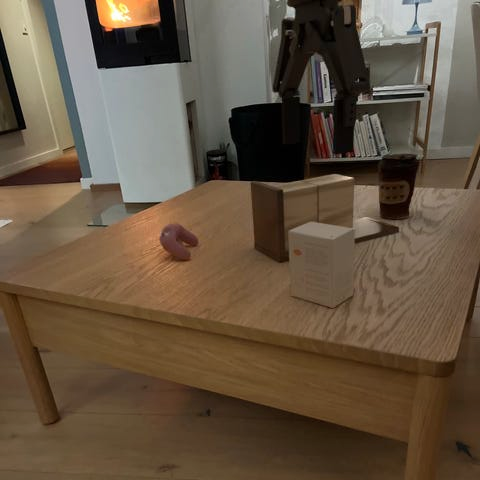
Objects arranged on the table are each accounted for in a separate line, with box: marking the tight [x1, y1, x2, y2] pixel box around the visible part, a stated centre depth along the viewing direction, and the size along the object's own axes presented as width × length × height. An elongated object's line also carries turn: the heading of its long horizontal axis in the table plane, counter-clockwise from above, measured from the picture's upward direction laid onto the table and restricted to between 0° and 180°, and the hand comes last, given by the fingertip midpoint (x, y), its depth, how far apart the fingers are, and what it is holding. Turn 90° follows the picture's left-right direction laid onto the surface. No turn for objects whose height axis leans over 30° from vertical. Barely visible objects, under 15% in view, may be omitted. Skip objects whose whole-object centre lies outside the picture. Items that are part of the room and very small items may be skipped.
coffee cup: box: [377, 153, 421, 220], centre depth 103 cm, size 9×8×13 cm
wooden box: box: [250, 173, 400, 263], centre depth 92 cm, size 10×28×13 cm, turn 116°
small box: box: [288, 222, 356, 309], centre depth 70 cm, size 8×6×10 cm
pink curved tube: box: [158, 221, 199, 261], centre depth 94 cm, size 10×5×7 cm, turn 174°
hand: (315, 148), depth 68 cm, fingers open, 13 cm apart
